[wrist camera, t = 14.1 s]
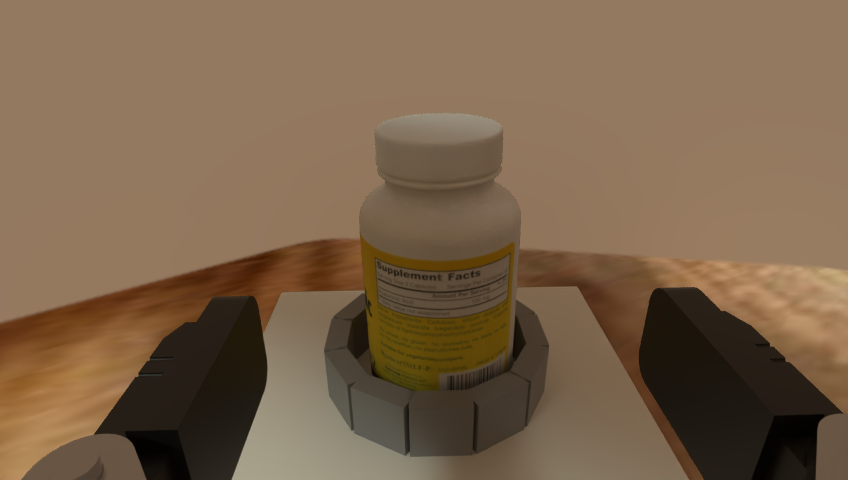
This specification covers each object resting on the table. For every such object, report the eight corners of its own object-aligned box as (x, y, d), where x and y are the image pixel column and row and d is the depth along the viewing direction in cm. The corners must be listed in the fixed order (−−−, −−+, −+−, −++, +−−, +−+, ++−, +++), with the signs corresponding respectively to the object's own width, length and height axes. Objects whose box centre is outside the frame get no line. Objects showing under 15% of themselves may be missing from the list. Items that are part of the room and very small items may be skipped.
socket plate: (180, 553, 15) (158, 483, 13) (283, 305, 26) (276, 256, 25) (705, 538, 15) (729, 468, 14) (575, 299, 27) (581, 251, 25)
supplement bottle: (405, 323, 23) (399, 103, 19) (524, 351, 21) (545, 114, 17) (343, 402, 19) (318, 137, 15) (486, 447, 17) (504, 156, 13)
